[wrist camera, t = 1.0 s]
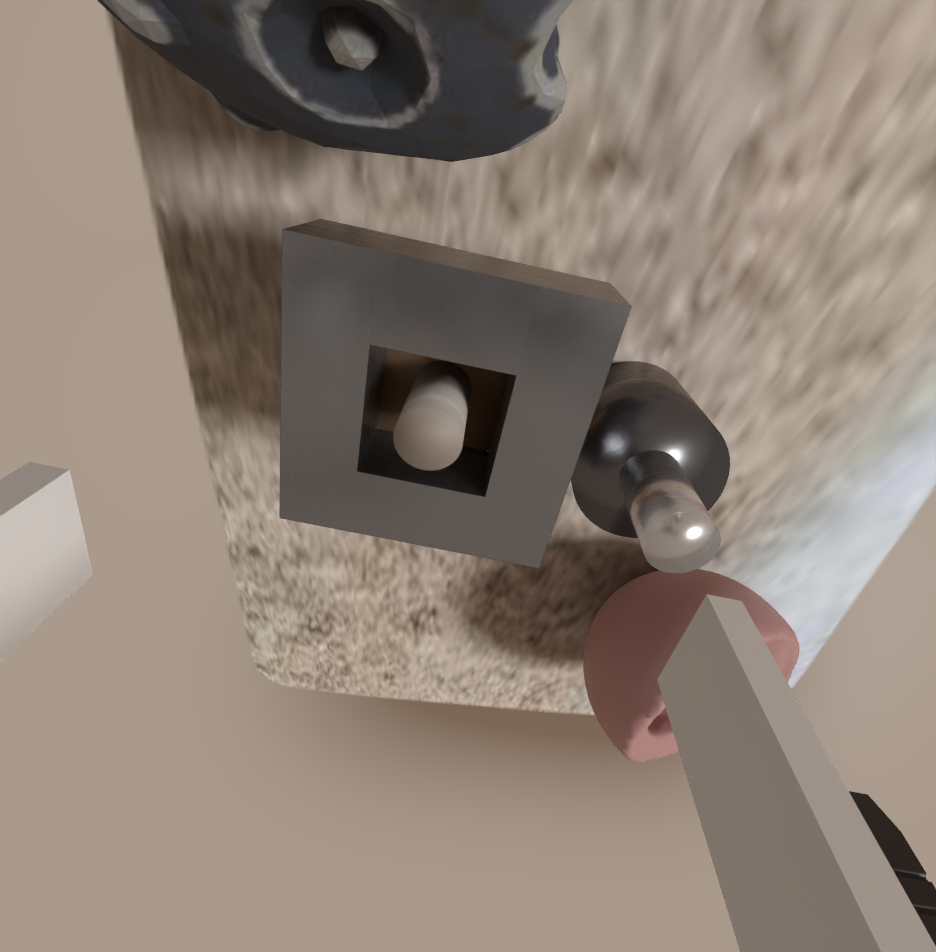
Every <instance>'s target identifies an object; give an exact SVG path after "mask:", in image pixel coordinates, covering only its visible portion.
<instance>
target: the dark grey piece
mask: <svg viewBox="0 0 936 952" xmlns="http://www.w3.org/2000/svg"><path fill="white" fill-rule="evenodd" d="M98 1H99V3H100V4H102V5H103V6H104V7H105V8H106V9H107V10H108V11H109V12H110V13H111V14H112V15H114V16H115V17H116V18H117V19H118V20H119V21H120V22H121V23H122V24H123V25H124V26H125V27H127V28H128V29H129V30H130V31H131V32H132V33H133V34H134V35H135V36H136V37H137V38H139V39H140V40H141V41H143V42H144V43H145V44H146V45H148V46H149V47H150V48H151V49H153V50H154V51H155V52H157V53H158V54H159V55H160V56H162V57H163V58H164V59H166V60H167V61H168V62H169V63H170V64H171V65H173V66H174V67H176V68H177V69H178V70H180V71H181V72H183V73H184V74H186V75H187V76H189V77H190V78H192V79H193V80H195V81H196V82H198V83H199V84H201V85H202V86H203V87H205V88H206V89H208V90H209V91H211V92H212V94H213V95H214V96H215V98H216V99H217V100H218V102H219V103H220V104H221V106H222V107H223V109H224V110H225V111H226V113H227V114H228V115H229V116H230V117H232V118H233V119H234V120H236V121H237V122H238V123H240V124H241V125H242V126H244V127H247V128H250V129H253V130H256V131H273V130H282V131H285V132H287V133H290V134H292V135H295V136H298V137H300V138H303V139H305V140H308V141H311V142H313V143H316V144H318V145H321V146H324V147H333V148H340V149H347V150H357V151H366V152H375V153H383V154H391V155H399V156H408V157H419V158H427V159H435V160H442V161H450V162H453V161H459V160H465V159H471V158H477V157H483V156H489V155H494V154H498V153H501V152H505V151H508V150H511V149H514V148H516V147H518V146H520V145H522V144H524V143H526V142H528V141H530V140H531V139H533V138H534V137H536V136H537V135H539V134H540V133H542V132H543V131H545V130H546V129H547V128H548V127H549V125H551V124H552V123H553V122H554V121H555V120H556V118H557V117H558V116H559V114H560V113H561V111H562V108H563V106H564V103H565V97H566V80H565V77H564V74H563V72H562V69H561V66H560V63H559V60H558V52H559V45H560V39H559V34H558V30H557V26H556V23H557V21H558V18H559V16H560V15H561V14H562V13H563V12H564V11H565V9H566V8H567V7H568V6H569V5H570V3H571V2H572V1H573V0H98Z"/></svg>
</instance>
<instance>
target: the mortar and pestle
mask: <svg viewBox="0 0 936 952" xmlns="http://www.w3.org/2000/svg"><path fill="white" fill-rule="evenodd" d="M707 594H708V595H713V596H719V597H724V598H729V599H734V600H739V601H742V602H743V604H744V606H745V608H746V609H747V611H748V613H749V615H750V617H751V618H752V620H753V622H754V624H755V625H756V627H757V629H758V631H759V633H760V634H761V636H762V638H763V640H764V642H765V643H766V645H767V647H768V649H769V650H770V652H771V654H772V656H773V658H774V659H775V661H776V663H777V665H778V666H779V668H780V670H781V672H782V674H783V675H784V677H785V679H786V681H787V682H788V680H789V678H790V677H791V673H792V670H793V669H794V667H795V665H796V662H797V660H798V656H799V643H798V641H797V638H796V635H795V633H794V631H793V630H792V628H791V627H790V626H789V625H788V623H787V622H786V621H785V620H784V619H783V618H782V616H781V615H780V614H779V613H778V612H777V611H776V610H775V609H774V608H773V607H772V606H771V605H770V604H769V603H768V602H766V601H765V600H764V599H763V598H762V597H760V596H759V595H758V594H756V593H755V592H754V591H752V590H751V589H749V588H747V587H746V586H744V585H742V584H741V583H739V582H737V581H735V580H733V579H730V578H728V577H725V576H723V575H720V574H717V573H713V572H710V571H705V570H699V569H696V570H693V571H690V572H685V573H667V572H663V571H660V570H658V571H654V572H651V573H647V574H645V575H642V576H640V577H637V578H635V579H633V580H632V581H630V582H628V583H626V584H625V585H623V586H622V587H621V588H619V589H618V590H617V591H615V592H614V593H613V594H612V595H611V596H610V597H609V598H608V599H607V600H606V602H605V603H604V604H603V605H602V607H601V608H600V610H599V611H598V613H597V614H596V616H595V618H594V620H593V622H592V624H591V627H590V629H589V632H588V635H587V639H586V644H585V650H584V679H585V685H586V689H587V694H588V698H589V701H590V703H591V706H592V709H593V711H594V713H595V715H596V717H597V719H598V721H599V723H600V725H601V727H602V728H603V730H604V731H605V733H606V734H607V736H608V737H609V739H610V740H611V741H612V742H613V743H614V745H615V746H616V747H617V748H618V749H619V750H620V751H621V753H622V754H623V755H624V756H625V757H626V758H627V759H629V760H631V761H634V762H637V763H642V762H643V761H649V760H656V759H659V758H662V757H665V756H669V755H672V754H674V753H677V752H679V750H678V746H677V743H676V740H675V737H674V733H673V730H672V727H671V723H670V720H669V717H668V714H667V710H666V707H665V704H664V701H663V697H662V694H661V691H660V687H659V684H658V681H657V679H658V677H659V675H660V674H661V672H662V670H663V668H664V667H665V665H666V663H667V662H668V660H669V658H670V656H671V655H672V653H673V651H674V650H675V648H676V646H677V644H678V643H679V641H680V639H681V638H682V636H683V634H684V632H685V631H686V629H687V627H688V626H689V624H690V622H691V620H692V619H693V617H694V615H695V614H696V612H697V610H698V608H699V607H700V605H701V603H702V602H703V600H704V598H705V596H706V595H707Z"/></svg>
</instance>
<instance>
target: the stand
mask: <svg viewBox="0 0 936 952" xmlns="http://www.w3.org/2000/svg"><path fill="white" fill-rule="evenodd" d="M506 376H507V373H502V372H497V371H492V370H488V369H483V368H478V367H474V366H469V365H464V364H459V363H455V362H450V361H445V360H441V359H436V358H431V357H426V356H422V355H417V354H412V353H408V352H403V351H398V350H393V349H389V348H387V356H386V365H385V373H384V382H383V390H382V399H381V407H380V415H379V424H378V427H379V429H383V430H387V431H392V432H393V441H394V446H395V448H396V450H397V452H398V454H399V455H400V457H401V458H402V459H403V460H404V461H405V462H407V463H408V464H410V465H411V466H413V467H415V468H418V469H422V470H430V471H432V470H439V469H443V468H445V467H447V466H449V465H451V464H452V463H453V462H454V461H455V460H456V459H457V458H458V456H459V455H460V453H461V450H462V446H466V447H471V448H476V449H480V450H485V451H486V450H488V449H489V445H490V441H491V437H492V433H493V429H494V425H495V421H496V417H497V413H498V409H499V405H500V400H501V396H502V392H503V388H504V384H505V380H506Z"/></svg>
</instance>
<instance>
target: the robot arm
mask: <svg viewBox="0 0 936 952" xmlns="http://www.w3.org/2000/svg"><path fill="white" fill-rule="evenodd" d="M92 575H93V573H92V568H91V564H90V559H89V555H88V550H87V546H86V541H85V537H84V532H83V528H82V524H81V519H80V515H79V510H78V506H77V501H76V497H75V493H74V488H73V483H72V479H71V475H70V470H68V469H63V468H57V467H53V466H48V465H42V464H37V463H32V462H29V463H27V464H26V465H24V466H22V467H21V468H19V469H18V470H16V471H14V472H12V473H11V474H9V475H7V476H6V477H4V478H3V479H1V480H0V664H1V663H2V662H3V661H4V660H5V659H6V658H7V657H8V656H9V655H10V654H11V653H12V652H13V651H14V650H15V649H16V648H17V647H18V646H19V645H21V644H22V643H23V642H24V641H25V640H26V639H27V638H28V637H29V636H30V635H31V634H32V633H33V632H34V631H35V630H36V629H37V628H38V627H39V626H40V625H41V624H42V623H43V622H44V621H45V620H46V619H47V618H48V617H49V616H51V614H52V613H53V612H55V611H56V610H57V609H58V608H59V607H60V606H61V605H62V604H63V603H64V602H65V601H66V600H67V599H68V598H69V597H70V596H71V595H72V594H73V593H74V592H75V591H76V590H77V589H78V588H79V587H80V586H82V584H84V582H86V581H87V580H88V579H89V578H90V577H91V576H92ZM657 681H658V684H659V687H660V691H661V694H662V697H663V701H664V704H665V707H666V710H667V714H668V717H669V720H670V723H671V727H672V730H673V733H674V737H675V740H676V743H677V746H678V750H679V753H680V756H681V759H682V763H683V766H684V769H685V773H686V776H687V779H688V782H689V786H690V789H691V792H692V795H693V798H694V802H695V805H696V808H697V812H698V815H699V818H700V822H701V825H702V828H703V831H704V835H705V838H706V841H707V845H708V848H709V851H710V854H711V858H712V861H713V864H714V867H715V871H716V874H717V877H718V881H719V884H720V887H721V890H722V894H723V897H724V900H725V903H726V907H727V910H728V913H729V917H730V920H731V923H732V926H733V930H734V933H735V936H736V939H737V943H738V946H739V949H740V952H936V889H935V887H934V885H933V884H932V882H928V881H927V880H926V872H925V871H924V869H923V867H922V866H921V864H920V862H919V861H918V859H917V857H916V856H915V854H914V852H913V851H912V849H911V847H910V846H909V844H908V843H907V841H906V839H905V838H904V836H903V834H902V833H901V831H900V830H899V829H898V828H897V827H896V826H895V825H894V824H893V822H892V821H891V820H890V819H889V818H888V817H887V816H886V815H885V813H884V812H883V811H882V810H881V809H880V808H879V807H878V806H877V804H875V802H874V801H873V800H872V799H871V798H870V797H869V796H868V795H867V794H861V793H855V792H850V791H848V789H847V788H846V786H845V784H844V782H843V781H842V779H841V777H840V775H839V773H838V771H837V770H836V768H835V766H834V764H833V763H832V761H831V759H830V758H829V755H828V754H827V752H826V750H825V748H824V747H823V745H822V743H821V741H820V739H819V738H818V736H817V734H816V733H815V731H814V729H813V727H812V725H811V723H810V722H809V720H808V718H807V716H806V714H805V713H804V711H803V709H802V708H801V706H800V704H799V702H798V700H797V698H796V697H795V695H794V693H793V691H792V690H791V688H790V686H789V684H788V682H787V681H786V679H785V677H784V675H783V674H782V672H781V670H780V668H779V666H778V665H777V663H776V661H775V659H774V658H773V656H772V654H771V652H770V650H769V649H768V647H767V645H766V643H765V642H764V640H763V638H762V636H761V634H760V633H759V631H758V629H757V627H756V625H755V624H754V622H753V620H752V618H751V617H750V615H749V613H748V611H747V609H746V608H745V606H744V604H743V602H742V601H739V600H734V599H729V598H724V597H719V596H713V595H708V594H707V595H706V596H705V598H704V600H703V602H702V603H701V605H700V607H699V608H698V610H697V612H696V614H695V615H694V617H693V619H692V620H691V622H690V624H689V626H688V627H687V629H686V631H685V632H684V634H683V636H682V638H681V639H680V641H679V643H678V644H677V646H676V648H675V650H674V651H673V653H672V655H671V656H670V658H669V660H668V662H667V663H666V665H665V667H664V668H663V670H662V672H661V674H660V675H659V677H658V679H657Z"/></svg>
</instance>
